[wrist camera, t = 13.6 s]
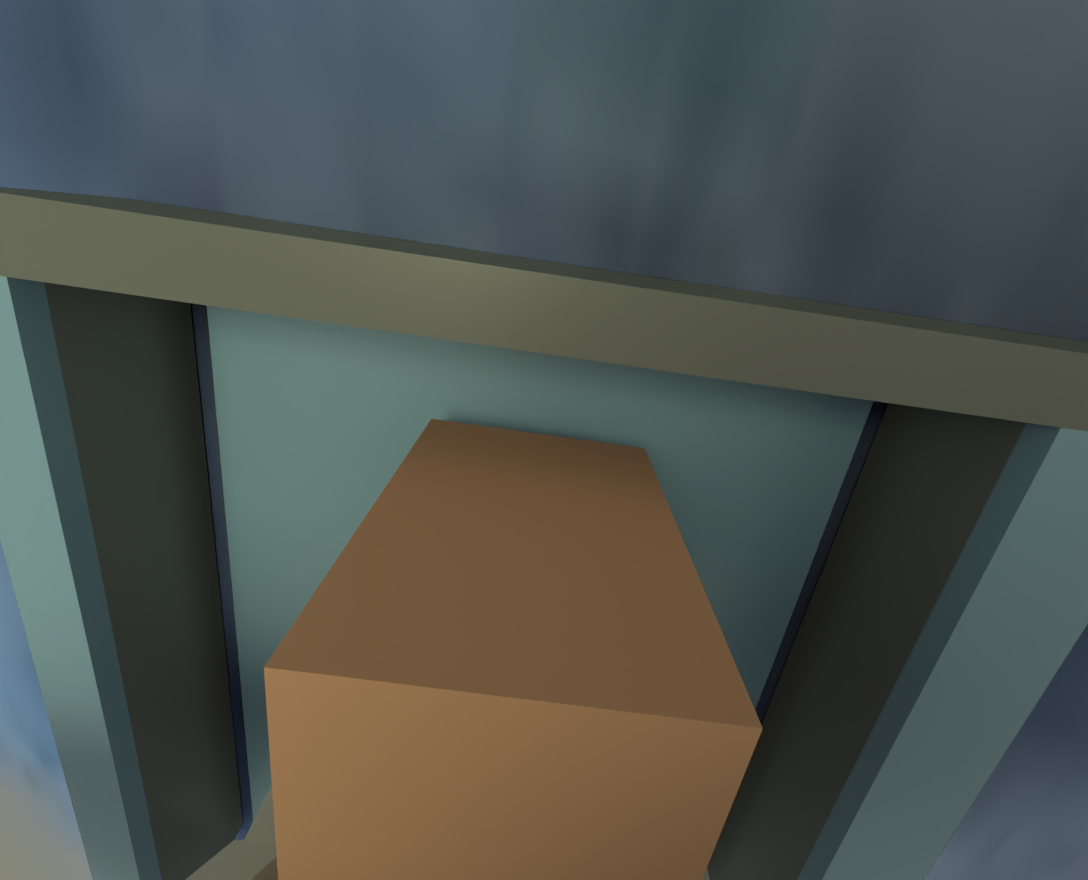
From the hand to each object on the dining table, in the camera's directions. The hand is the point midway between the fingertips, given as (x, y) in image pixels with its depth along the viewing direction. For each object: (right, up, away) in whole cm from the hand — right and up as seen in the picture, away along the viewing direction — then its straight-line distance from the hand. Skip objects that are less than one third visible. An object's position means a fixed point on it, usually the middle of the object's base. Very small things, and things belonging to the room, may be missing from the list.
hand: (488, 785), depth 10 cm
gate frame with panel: (+8, 0, +4) cm, 9 cm away
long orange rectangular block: (0, +1, +2) cm, 2 cm away
